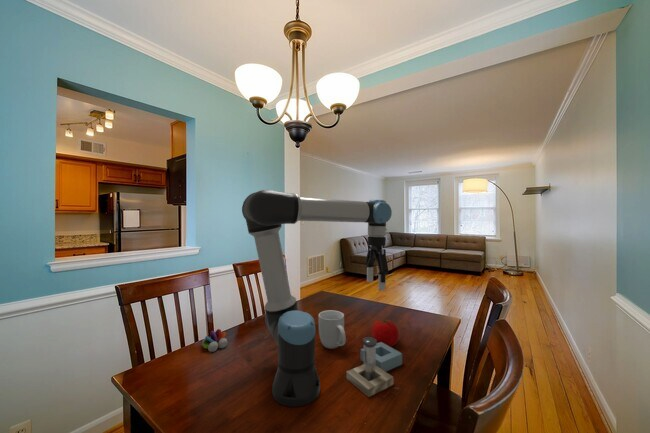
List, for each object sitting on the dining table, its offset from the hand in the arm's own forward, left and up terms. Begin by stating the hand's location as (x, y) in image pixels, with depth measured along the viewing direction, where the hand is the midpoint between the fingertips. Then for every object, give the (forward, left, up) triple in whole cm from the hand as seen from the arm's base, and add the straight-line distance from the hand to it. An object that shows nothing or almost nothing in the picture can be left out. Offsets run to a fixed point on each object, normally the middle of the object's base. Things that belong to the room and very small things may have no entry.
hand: (375, 285), depth 113 cm
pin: (-19, -17, -26) cm, 36 cm away
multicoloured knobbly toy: (-58, +36, -26) cm, 73 cm away
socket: (-7, -10, -26) cm, 29 cm away
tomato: (+5, -1, -26) cm, 26 cm away
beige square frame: (-19, -17, -26) cm, 36 cm away
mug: (-15, +10, -26) cm, 32 cm away
